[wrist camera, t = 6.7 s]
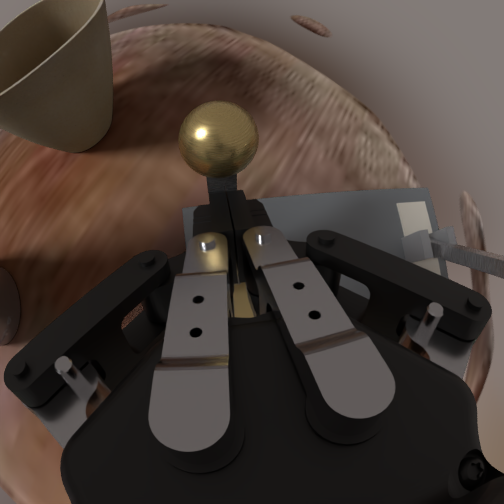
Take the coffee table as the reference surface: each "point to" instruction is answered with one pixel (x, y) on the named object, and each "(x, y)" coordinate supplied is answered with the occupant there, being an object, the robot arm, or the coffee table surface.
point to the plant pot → (57, 74)
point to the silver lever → (469, 257)
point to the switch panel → (355, 227)
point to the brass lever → (218, 143)
